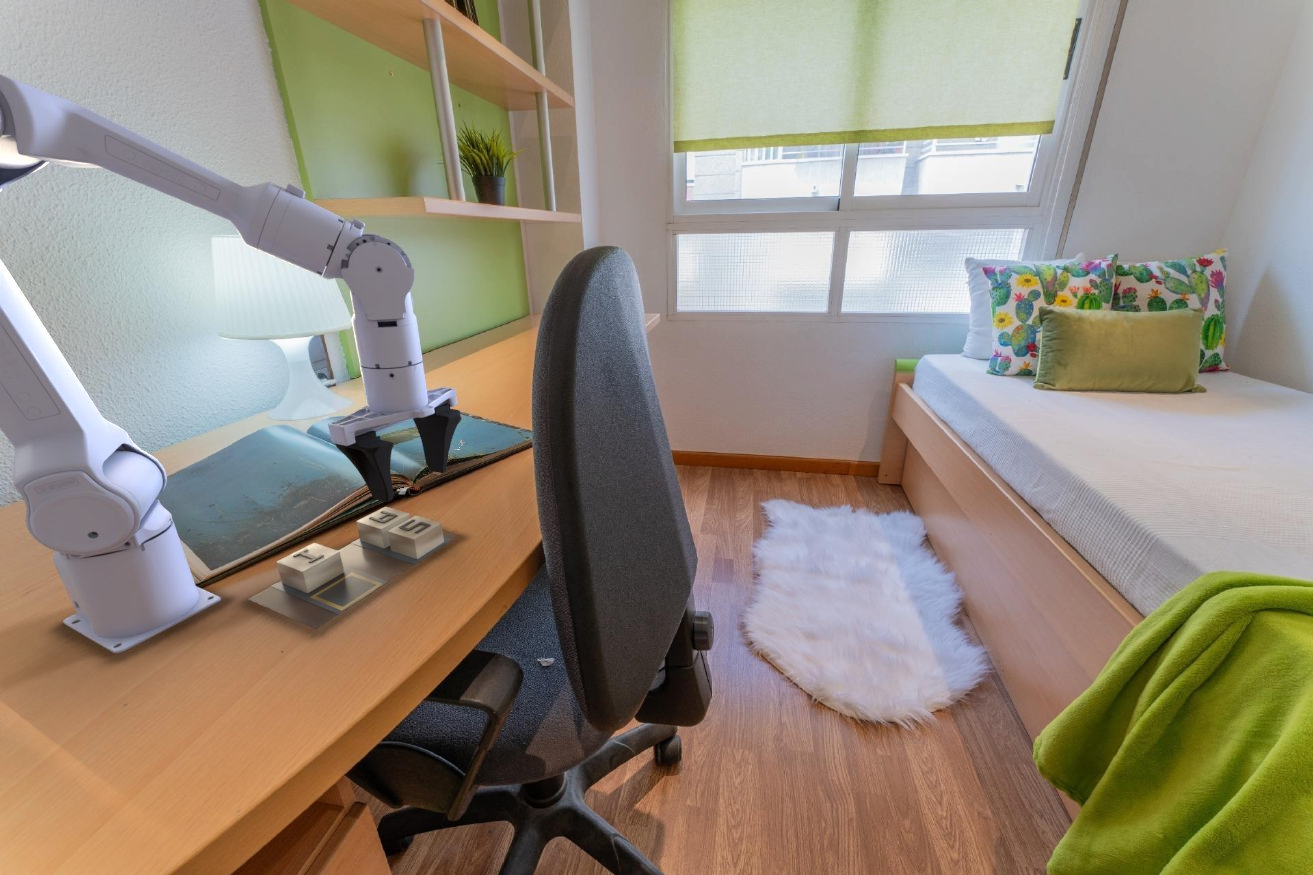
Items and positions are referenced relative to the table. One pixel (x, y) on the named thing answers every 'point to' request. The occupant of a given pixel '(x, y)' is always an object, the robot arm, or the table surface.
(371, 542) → the tile
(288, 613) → the letter board
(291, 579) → the tile
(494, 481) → the table surface
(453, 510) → the table surface
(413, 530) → the tile
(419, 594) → the table surface
